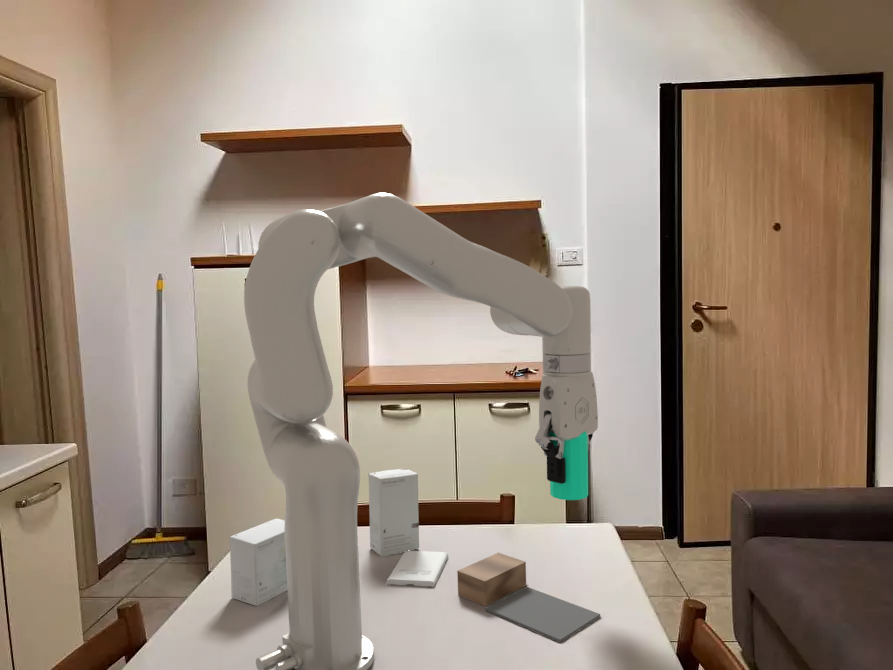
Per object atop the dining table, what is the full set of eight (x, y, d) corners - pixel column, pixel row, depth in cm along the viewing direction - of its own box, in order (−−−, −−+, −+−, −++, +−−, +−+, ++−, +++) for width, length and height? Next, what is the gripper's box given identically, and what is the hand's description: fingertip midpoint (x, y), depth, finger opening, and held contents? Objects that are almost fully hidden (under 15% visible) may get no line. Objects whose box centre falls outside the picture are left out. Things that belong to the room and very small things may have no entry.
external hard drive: (448, 560, 126) (434, 590, 114) (405, 558, 128) (386, 587, 116) (448, 552, 126) (433, 580, 114) (404, 550, 128) (386, 578, 116)
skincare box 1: (258, 607, 109) (254, 543, 108) (230, 598, 112) (227, 536, 112) (304, 582, 118) (301, 522, 117) (278, 575, 121) (275, 517, 120)
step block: (485, 606, 107) (484, 581, 106) (458, 594, 111) (457, 570, 111) (526, 585, 114) (525, 561, 113) (499, 575, 118) (498, 552, 118)
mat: (560, 642, 95) (560, 639, 95) (485, 610, 105) (485, 608, 105) (600, 616, 102) (600, 614, 102) (527, 589, 112) (527, 586, 112)
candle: (543, 492, 111) (542, 419, 110) (573, 487, 114) (572, 415, 113) (564, 502, 106) (563, 425, 105) (596, 496, 108) (595, 421, 107)
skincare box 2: (381, 558, 127) (377, 479, 126) (369, 547, 132) (365, 472, 131) (421, 548, 131) (419, 472, 130) (408, 539, 136) (405, 465, 135)
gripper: (552, 371, 99) (554, 494, 101) (617, 361, 111) (617, 471, 112) (513, 368, 105) (515, 484, 106) (578, 358, 117) (579, 463, 118)
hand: (567, 476), depth 109 cm, fingers closed on candle, 5 cm apart
